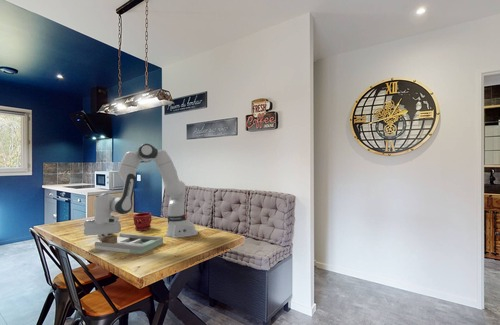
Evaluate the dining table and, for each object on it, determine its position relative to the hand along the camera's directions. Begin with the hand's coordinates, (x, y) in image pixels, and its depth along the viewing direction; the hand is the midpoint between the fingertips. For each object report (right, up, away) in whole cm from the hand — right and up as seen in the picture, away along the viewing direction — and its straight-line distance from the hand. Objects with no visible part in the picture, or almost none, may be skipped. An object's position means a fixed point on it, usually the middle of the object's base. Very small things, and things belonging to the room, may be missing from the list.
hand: (102, 241), depth 155 cm
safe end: (+30, -3, -4) cm, 30 cm away
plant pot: (+8, -3, +40) cm, 40 cm away
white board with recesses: (+17, -3, -1) cm, 18 cm away
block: (+5, -1, -2) cm, 5 cm away
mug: (-14, -4, +24) cm, 28 cm away
